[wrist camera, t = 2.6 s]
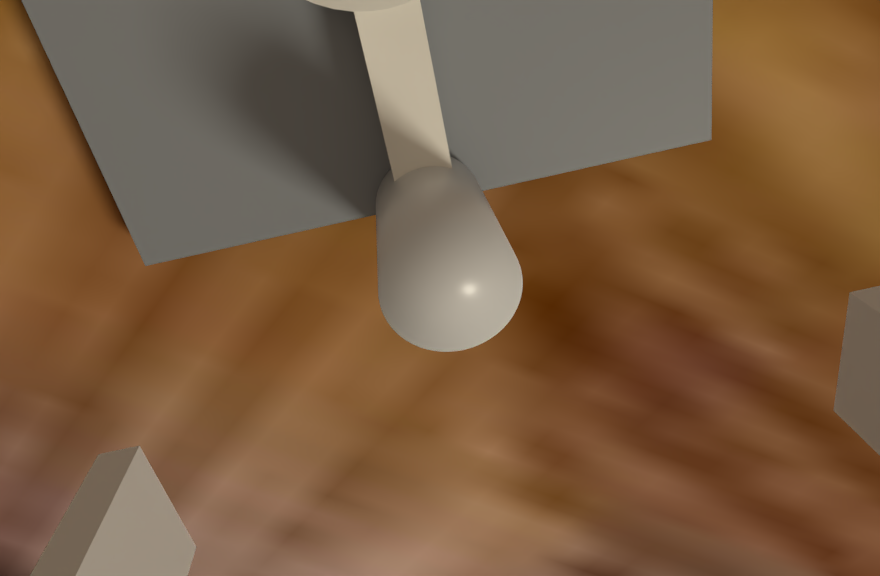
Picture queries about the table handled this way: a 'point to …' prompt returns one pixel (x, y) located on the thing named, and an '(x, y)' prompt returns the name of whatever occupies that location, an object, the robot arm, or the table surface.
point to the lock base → (356, 102)
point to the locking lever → (428, 198)
